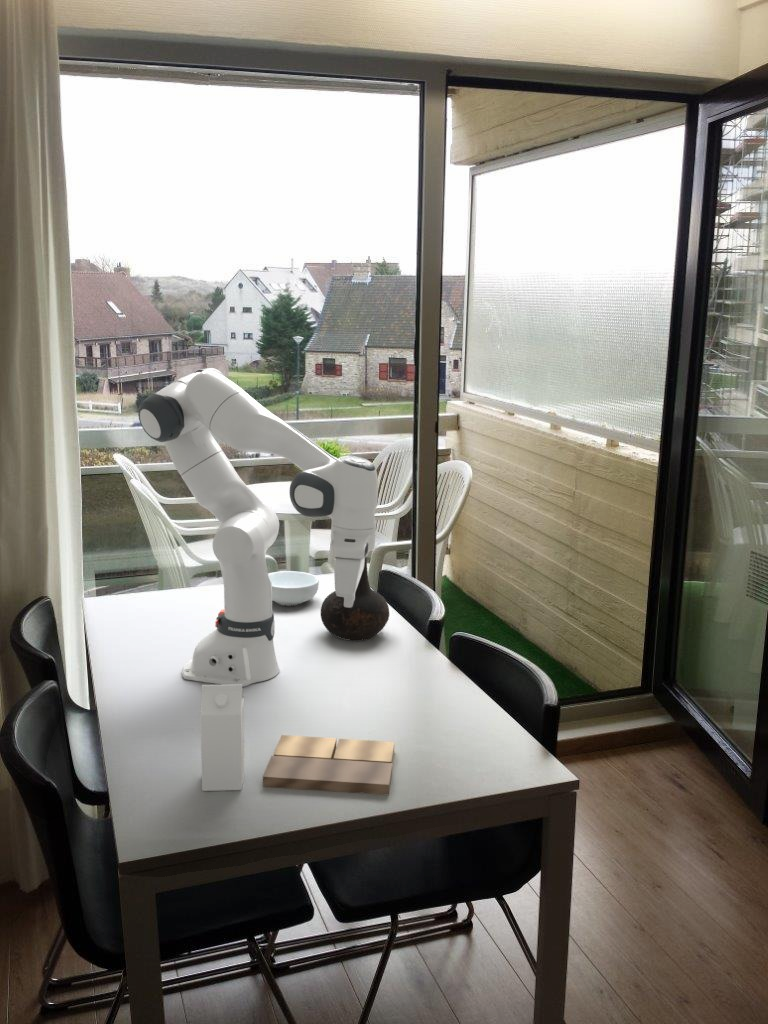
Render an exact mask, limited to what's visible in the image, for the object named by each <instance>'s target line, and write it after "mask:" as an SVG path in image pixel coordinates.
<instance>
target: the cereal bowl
mask: <svg viewBox="0 0 768 1024" xmlns="http://www.w3.org/2000/svg"><path fill="white" fill-rule="evenodd" d="M268 576H269V578H270V580H271V582H272V602H275V603H276V604H278V605H280V606H285V605H286V606H287V607H291V605H292V607H293V605H294V606H299V605H301V604H303V603H305V602H308V601H310V600H312V599H313V598H314V597H315V595H316V594H317V592H318V590H319V584H320V583H319V582H320V581H319V578H318V576H316V575H314V574H312V573H309V572H304V571H296V570H295V571H294V570H285V571H283V570H280V571H275V572H274V571H273V572H269V573H268ZM298 604H299V605H298Z"/></svg>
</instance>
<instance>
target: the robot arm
mask: <svg viewBox="0 0 768 1024" xmlns="http://www.w3.org/2000/svg"><path fill="white" fill-rule="evenodd" d="M138 420H139V423H140V426H141V427H142V430H144V432H145V434H146V435H147V436H148V437H150V438H151V439H152V440H155V441H157V442H160V443H163V444H164V446H165V448H166V451H167V453H168V455H169V458H170V459H171V462H172V464H173V465H174V467H175V469H176V471H177V472H178V474H179V475H180V477H181V478H182V480H183V482H184V483H185V485H186V487H188V490H189V491H190V492H191V495H193V497H194V499H195V500H196V502H197V503H198V504H199V506H200V507H202V508H204V509H206V510H207V511H208V512H210V513H211V514H212V515H213V516H214V517H215V518H216V519H217V520H218V521H219V522H220V523H221V525H220V526H219V527H218V529H217V530H216V531H215V532H216V533H215V534H214V537H213V540H212V551H213V554H214V556H215V558H216V560H217V561H218V562H219V567H220V572H221V576H222V577H221V578H222V582H223V595H224V596H223V600H224V601H223V602H224V605H223V606H224V608H223V609H221V610H220V611H219V612H218V614H217V617H216V619H215V624H214V625H215V627H214V628H216V629H215V630H213V631H212V632H211V633H209V634H208V635H206V636H205V637H203V638H202V639H201V640H200V641H199V642H198V643H197V644H196V645H195V648H194V650H193V654H192V658H190V659H189V660H187V662H186V663H185V664H184V666H183V669H182V677H183V678H184V679H185V680H187V681H195V682H202V683H208V684H214V685H239V684H242V688H243V687H246V686H250V685H251V684H254V683H258V682H263V681H267V680H270V679H273V678H274V677H275V676H277V675H278V674H279V672H280V667H279V664H278V660H277V655H276V651H275V644H274V637H275V633H276V632H275V627H276V626H275V625H276V624H275V623H276V622H275V614H274V613H273V601H272V582H271V580H270V578H269V576H268V574H269V573H268V567H267V561H266V555H267V554H266V553H267V550H268V549H269V548H270V547H271V546H273V544H274V543H275V541H276V540H277V537H278V534H279V531H280V521H279V517H278V515H277V513H276V512H275V511H274V510H273V509H272V508H270V507H268V506H267V505H266V504H264V503H263V502H262V501H261V499H260V498H259V497H258V496H257V494H255V493H254V492H253V491H252V490H251V489H250V487H249V486H247V484H246V483H245V482H244V481H243V479H241V477H240V476H239V474H238V473H237V471H236V469H235V467H233V464H232V463H231V461H230V460H229V458H228V457H227V456H226V453H225V452H224V451H223V449H222V448H221V446H220V444H219V443H218V441H217V440H216V439H215V437H216V438H217V439H218V440H219V441H220V442H222V443H223V444H225V445H227V446H229V447H231V448H232V449H234V450H236V451H239V452H251V453H252V452H253V453H266V454H267V453H268V454H271V455H275V456H279V457H282V458H284V459H286V460H288V461H289V462H291V463H292V464H293V465H294V466H296V467H297V468H299V469H300V470H301V472H298V473H297V474H296V475H295V476H294V477H293V478H292V479H291V482H290V484H289V485H290V486H289V499H290V502H291V504H292V507H293V508H294V509H295V510H296V512H298V514H300V515H302V516H305V517H312V518H317V517H329V518H330V520H331V525H330V527H331V528H330V547H331V554H330V555H331V557H332V558H333V557H334V559H333V561H334V562H333V564H334V565H333V571H334V572H333V573H334V590H335V592H336V595H337V596H339V597H344V607H349V608H351V607H352V606H353V603H354V600H355V592H356V589H357V586H358V583H359V580H360V578H361V575H362V572H363V569H364V563H365V557H368V556H369V553H370V552H371V551H373V550H375V547H376V545H375V544H376V529H377V521H376V516H375V515H376V514H375V513H376V509H377V506H378V497H379V479H378V471H377V468H376V466H375V464H374V463H372V462H371V460H368V459H367V458H364V457H361V456H356V455H355V456H354V455H343V456H340V457H339V458H338V457H336V456H334V455H332V454H330V453H329V452H328V451H326V450H325V449H324V448H323V447H322V446H320V445H318V443H316V442H314V441H313V440H312V439H310V437H307V436H306V435H305V434H304V433H302V432H301V431H299V429H296V428H295V427H293V426H292V425H291V424H289V423H287V422H286V421H284V420H283V419H281V418H280V417H278V416H277V415H276V414H274V413H272V412H271V411H270V410H268V409H267V407H265V406H263V405H262V404H261V403H259V402H258V401H257V400H256V399H254V397H252V396H251V395H249V393H247V391H245V390H244V389H243V388H241V386H239V385H238V384H236V383H235V382H233V381H232V380H230V379H229V378H227V377H226V376H225V375H224V374H223V373H222V371H220V370H219V369H216V368H215V367H214V368H213V367H207V368H201V369H199V370H196V371H195V372H193V373H190V374H187V375H185V376H182V377H180V378H178V379H176V380H174V381H172V382H171V383H170V384H168V385H166V386H165V387H163V388H161V389H160V390H159V391H157V392H155V393H152V394H150V395H149V396H147V397H145V399H143V401H142V402H140V404H139V407H138ZM214 436H215V437H214Z"/></svg>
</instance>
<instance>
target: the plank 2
mask: <svg viewBox="0 0 768 1024" xmlns="http://www.w3.org/2000/svg"><path fill="white" fill-rule="evenodd" d="M394 755H395V741H383V740H369V739H368V740H367V739H352V738H338V740H337V743H336V751H335V754H334V758H333V760H349V761H365V762H381V763H392V764H393V762H394Z"/></svg>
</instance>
